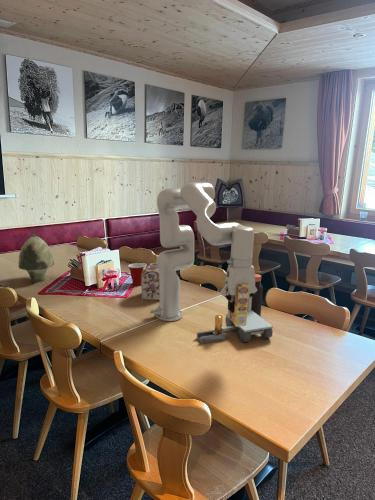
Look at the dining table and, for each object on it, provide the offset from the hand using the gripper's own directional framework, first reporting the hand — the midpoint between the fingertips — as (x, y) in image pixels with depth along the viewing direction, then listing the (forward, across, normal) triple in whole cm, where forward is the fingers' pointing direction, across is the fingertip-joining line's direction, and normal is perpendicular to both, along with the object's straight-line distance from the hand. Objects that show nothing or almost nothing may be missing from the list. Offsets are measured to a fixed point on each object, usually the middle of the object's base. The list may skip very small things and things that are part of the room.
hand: (237, 309), depth 133 cm
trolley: (+19, +15, +16) cm, 29 cm away
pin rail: (+20, -2, +16) cm, 25 cm away
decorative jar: (+21, -12, +70) cm, 74 cm away
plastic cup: (+22, -16, +92) cm, 96 cm away
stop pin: (+18, +4, +16) cm, 25 cm away
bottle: (+20, +26, +31) cm, 45 cm away
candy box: (+5, 0, 0) cm, 5 cm away
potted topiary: (+23, -71, +117) cm, 138 cm away
